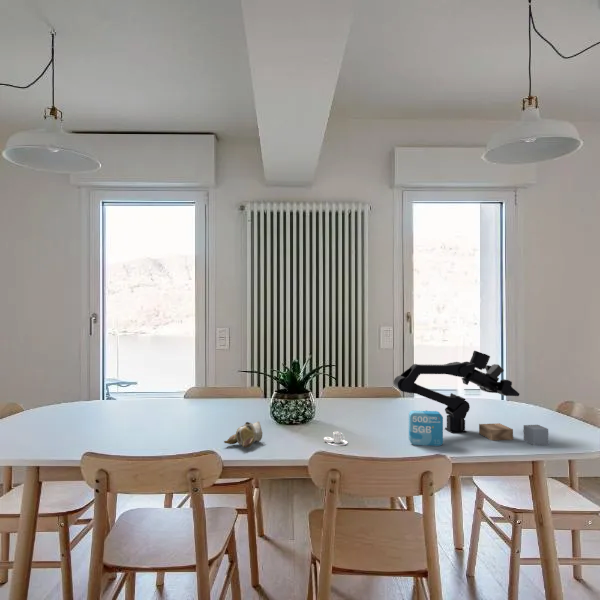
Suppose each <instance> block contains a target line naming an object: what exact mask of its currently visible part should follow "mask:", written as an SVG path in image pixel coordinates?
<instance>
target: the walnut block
mask: <svg viewBox="0 0 600 600" xmlns="http://www.w3.org/2000/svg"><path fill="white" fill-rule="evenodd" d="M478 431H479V432H478V434H479V435H480V434H481V435H480V436H482V435H483V436H482V437H484V436H485V438H486V437H487V438H486V439H488V440H490V441H507V440H508V441H510V440H511V441H512V440H514V429H513V428H511V427H508V426H507V425H504V424H502V423H499V422H498V423H479V424H478Z"/></svg>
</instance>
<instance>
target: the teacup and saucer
mask: <svg viewBox="0 0 600 600" xmlns="http://www.w3.org/2000/svg"><path fill="white" fill-rule="evenodd" d="M332 434H333V437H330V436H324V437H323V441H324V442H326V443H327V444H328V445H330V446H336V447H337V446H340V447H342V446H345V445H348V443H349V442H348V441H347V440H345V435H344V434H343V433H342V432H341V431H333V432H332ZM342 436H343V438H342ZM333 442H334V444H333ZM342 442H343V443H342Z"/></svg>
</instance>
